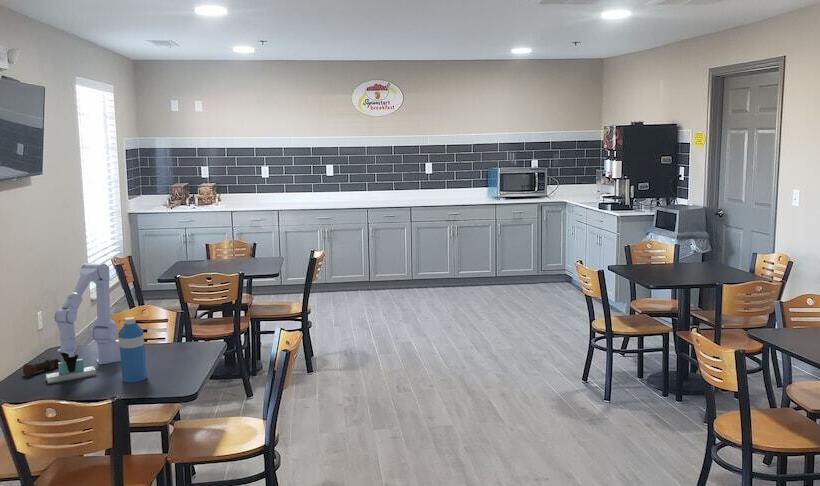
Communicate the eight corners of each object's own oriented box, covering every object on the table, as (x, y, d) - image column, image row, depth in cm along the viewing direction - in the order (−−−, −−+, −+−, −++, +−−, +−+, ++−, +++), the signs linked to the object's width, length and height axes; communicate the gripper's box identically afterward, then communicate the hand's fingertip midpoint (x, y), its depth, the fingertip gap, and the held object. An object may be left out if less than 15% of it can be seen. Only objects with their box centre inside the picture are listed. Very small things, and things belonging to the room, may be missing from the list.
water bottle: (151, 376, 312) (147, 316, 308) (136, 383, 303) (131, 321, 300) (132, 374, 315) (127, 315, 311) (117, 381, 306) (112, 320, 303)
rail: (93, 371, 320) (93, 366, 320) (96, 375, 315) (95, 369, 315) (46, 380, 311) (45, 374, 310) (48, 384, 306) (47, 378, 305)
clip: (83, 373, 316) (81, 358, 316) (84, 375, 314) (82, 359, 313) (59, 377, 312) (58, 362, 311) (60, 379, 310) (59, 363, 309)
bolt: (60, 370, 330) (28, 379, 317) (53, 363, 332) (21, 372, 319) (64, 360, 328) (31, 368, 315) (57, 353, 330) (24, 361, 317)
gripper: (54, 335, 315) (57, 367, 317) (59, 343, 302) (62, 376, 304) (72, 333, 318) (75, 364, 320) (78, 340, 306) (81, 373, 308)
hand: (70, 370), depth 313 cm, fingers open, 5 cm apart
